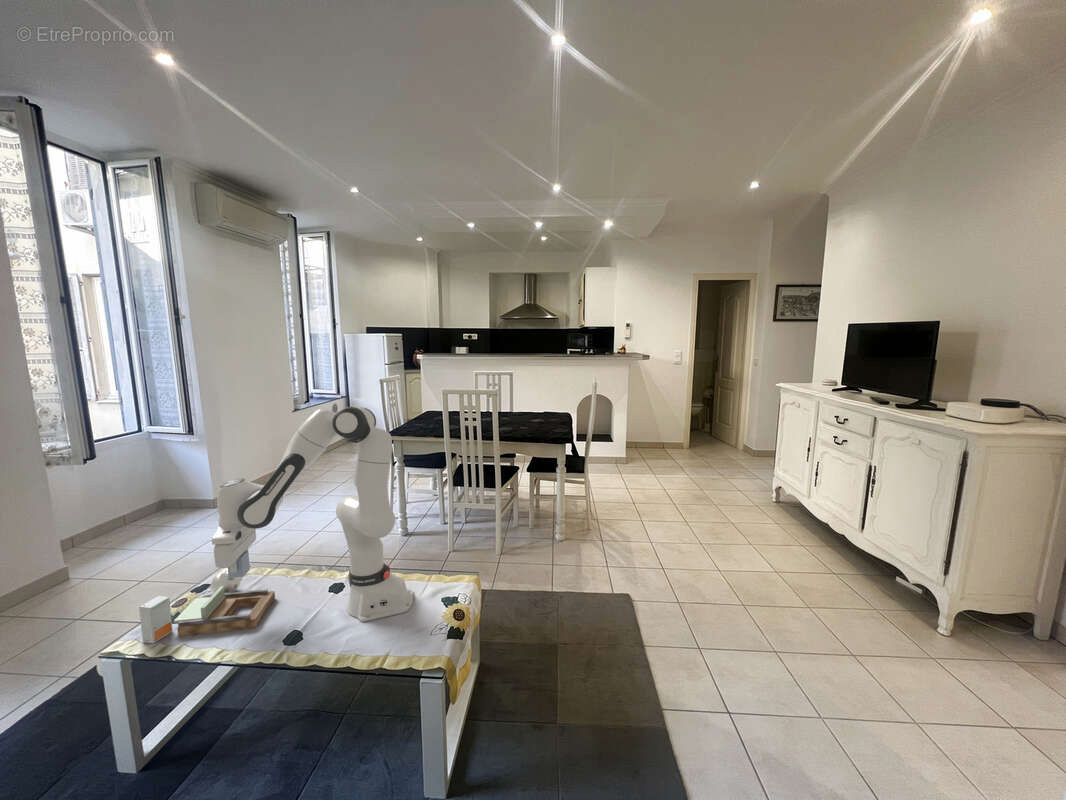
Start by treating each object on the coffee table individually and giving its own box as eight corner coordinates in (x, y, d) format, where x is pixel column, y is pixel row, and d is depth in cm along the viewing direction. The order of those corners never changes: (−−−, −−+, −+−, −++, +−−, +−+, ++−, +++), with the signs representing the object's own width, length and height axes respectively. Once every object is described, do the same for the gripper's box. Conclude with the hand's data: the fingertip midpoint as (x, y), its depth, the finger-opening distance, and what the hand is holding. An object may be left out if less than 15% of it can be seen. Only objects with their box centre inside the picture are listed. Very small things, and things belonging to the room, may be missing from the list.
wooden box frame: (275, 598, 152) (274, 587, 151) (255, 627, 136) (254, 616, 136) (206, 605, 147) (205, 594, 147) (178, 636, 132) (176, 624, 131)
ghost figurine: (224, 604, 148) (222, 577, 147) (205, 598, 151) (203, 573, 150) (248, 589, 157) (246, 565, 155) (230, 585, 160) (228, 560, 158)
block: (249, 569, 143) (248, 550, 142) (243, 576, 139) (242, 557, 138) (235, 571, 142) (233, 551, 141) (228, 578, 138) (226, 558, 137)
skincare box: (153, 644, 128) (149, 608, 127) (142, 642, 129) (138, 606, 127) (173, 631, 134) (170, 596, 132) (162, 629, 135) (159, 595, 133)
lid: (225, 597, 146) (224, 586, 146) (206, 619, 135) (204, 607, 134) (195, 600, 144) (194, 589, 144) (173, 623, 133) (172, 610, 132)
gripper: (240, 515, 148) (243, 552, 150) (208, 542, 128) (212, 584, 130) (260, 514, 149) (262, 550, 151) (231, 540, 129) (234, 582, 131)
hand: (239, 566), depth 140 cm, fingers closed on block, 4 cm apart
